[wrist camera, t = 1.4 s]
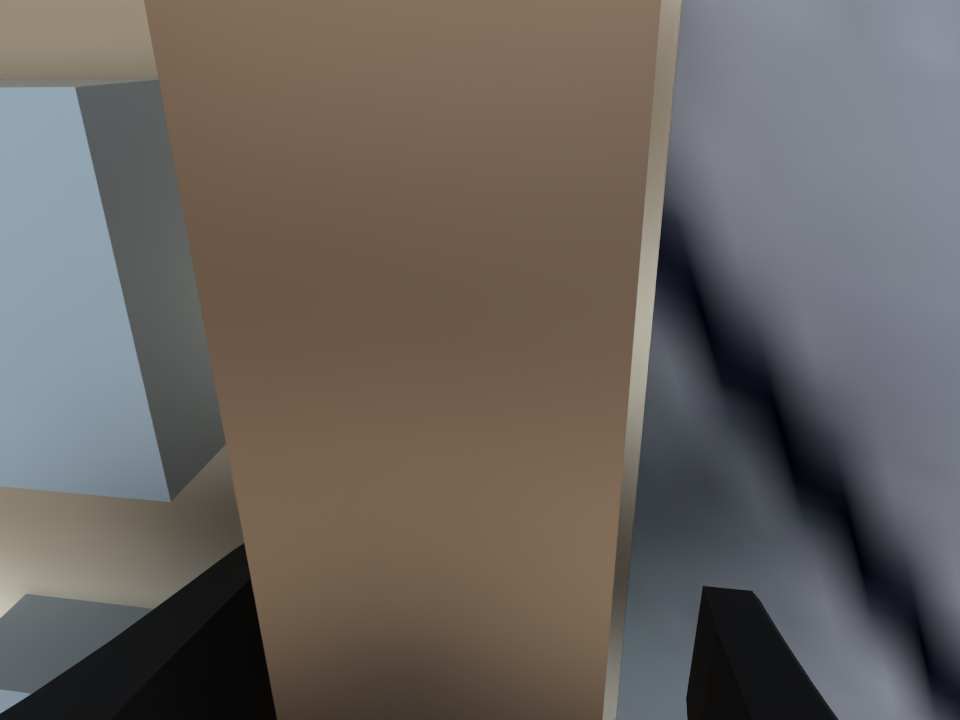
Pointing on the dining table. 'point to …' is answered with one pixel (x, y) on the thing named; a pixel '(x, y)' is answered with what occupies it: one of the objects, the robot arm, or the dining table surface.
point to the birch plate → (210, 494)
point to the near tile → (98, 296)
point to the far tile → (53, 639)
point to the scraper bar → (419, 332)
